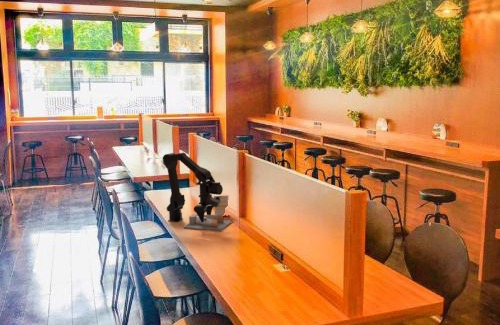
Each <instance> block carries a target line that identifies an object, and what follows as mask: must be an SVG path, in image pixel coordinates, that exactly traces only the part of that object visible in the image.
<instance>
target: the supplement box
mask: <svg viewBox="0 0 500 325" xmlns="http://www.w3.org/2000/svg"><path fill="white" fill-rule="evenodd" d="M227 194H228V193H222V194H221V195H216V194H213V198H214V197H215V198H216V197H217V196H218V197H220V200H221V202H220V204H219V206H217V207H214V215H224V213H225V208H226V207H227V206H228V200H229V194H228V195H227Z"/></svg>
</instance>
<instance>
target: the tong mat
mask: <svg viewBox="0 0 500 325" xmlns="http://www.w3.org/2000/svg"><path fill="white" fill-rule="evenodd" d="M196 216H198V215H197V213H195V214H191V215H190V216H188V217H189V218H188V220H189V222H188V223H187V224H185V226H183V229H184V230H185V229H186V230H195V231H207V232H218V233H219V232H222V231H224V229H226V228H227V227H228V226H230V225H231V224H232V223H233V222H232V221H231V220H232V219H224V222H217V227H213V226H208V225H202V224H197V223H196ZM231 222H232V223H231ZM230 223H231V224H230ZM229 224H230V225H229Z"/></svg>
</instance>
